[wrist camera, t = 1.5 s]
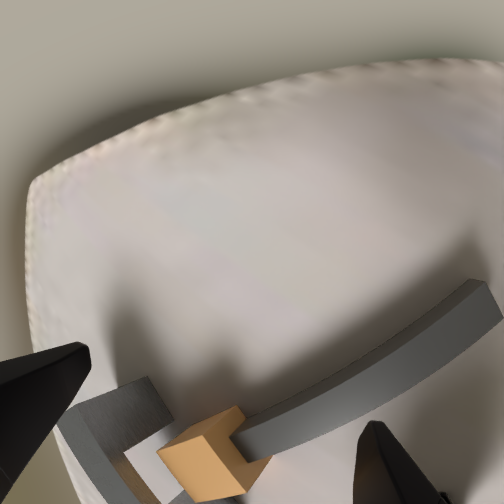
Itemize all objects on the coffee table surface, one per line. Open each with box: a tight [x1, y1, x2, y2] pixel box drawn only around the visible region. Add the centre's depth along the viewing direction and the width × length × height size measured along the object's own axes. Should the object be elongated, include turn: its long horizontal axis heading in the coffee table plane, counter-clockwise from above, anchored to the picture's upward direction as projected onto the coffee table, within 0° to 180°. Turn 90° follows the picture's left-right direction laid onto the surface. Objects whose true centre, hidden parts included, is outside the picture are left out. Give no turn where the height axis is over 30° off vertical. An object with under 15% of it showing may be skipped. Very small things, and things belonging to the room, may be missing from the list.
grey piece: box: [56, 376, 238, 504], centre depth 19 cm, size 5×16×8 cm, turn 37°
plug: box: [156, 279, 504, 503], centre depth 16 cm, size 24×5×5 cm, turn 127°
